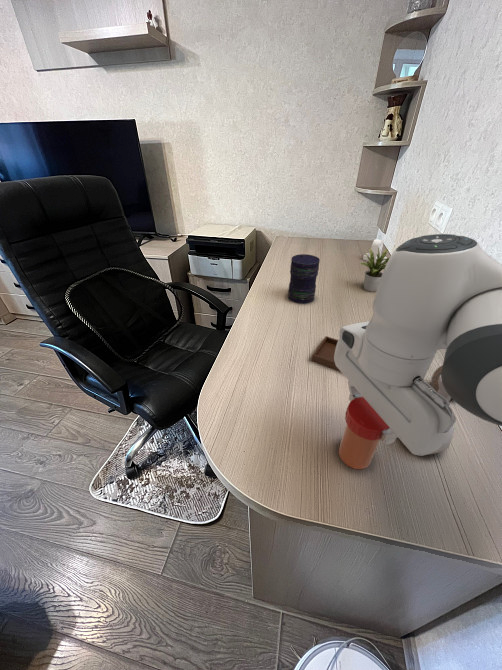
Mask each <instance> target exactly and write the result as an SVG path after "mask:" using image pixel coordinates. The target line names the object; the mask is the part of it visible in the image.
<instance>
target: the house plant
mask: <svg viewBox="0 0 502 670" xmlns="http://www.w3.org/2000/svg"><path fill="white" fill-rule="evenodd" d="M368 250H369V253H370V257H371V258H369V256H368V255H367V254H366V253H367V252H364V255H366V256H367V258H368V259H369V261H366V262H361V263H359V265H363V266H366V267H368V269H369V270H366V271H365V272H364V278H363V279H364V280H363V289H364V290H365V291H368V292H376V291H377V288H378V285H379V282H380V279H381V277H382V274H383V272H382V271H384V269H385V267H386V264H387V262H388V260H389V258H390V257H391V256H389V257H387V258H386V259H384V257H386V256H387V253H388V251H389V249H388V247H386V248H385V250H384V251H383V252H382V253H381V255H380V252H379V247H378V254H377V259H376V263H375V262H374V253H373V252H372V250H371V248H370V247H368ZM383 260H385V261H384V262H383V263H381V262H382V261H383Z"/></svg>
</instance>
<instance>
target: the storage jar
mask: <svg viewBox="0 0 502 670" xmlns="http://www.w3.org/2000/svg"><path fill="white" fill-rule="evenodd" d="M290 259H291V262H290V266H289V267H290V270H289V273H290V278H289V283H288V295H287V298H288V300H289V301H290V302H292V303H293V304H294V303H295V304H298V305H306V304H311V303H312V302H314V300H315V295H316V291H317V290H316V289H317V277H318V275H319V270H320V261H321V260H320V258H319V257H318V256H316V255H312V254H306V253H305V254H304V253H301V254H295V255H292V257H291V258H290Z"/></svg>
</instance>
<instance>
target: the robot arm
mask: <svg viewBox="0 0 502 670" xmlns="http://www.w3.org/2000/svg"><path fill="white" fill-rule="evenodd" d="M389 257H390V258H389ZM389 257H388V258H389V260H388V262H387V264H385V265H386V267H385V269H383V270H382V273H383V274H382V277H381V279H380V282H379V285H378V288H377V291H375V295H374V299H373V303H372V316H371V319H370V320H368V321H361V322H355V323H351V324H348V325H344V326H341V327H340V328H339V332H338V336H339V339H337V340H338V342H337V345H336V349H335V354H334V361H335V365H336V366H337V368H338V369H339V370H340V371H341V373H342V375H343V376H344V378H346V379H347V386H348V391H349V396H348V401H349V402H351V401H352V400H353V399H355V398H359V397H364V399H365V400H366V401H367V402H368V403H369V404H370V406H371V407H372V408H373V409H374V410H375V411H376V412H377V414H378V415H379V416H380V417H381V418H382V419H383V421H384V422H385V423H386V424H387V425H388V426H389V427H390V428H389V429H387V430H384V431H381V435H380V436H379V437H380V438H381V440H380V441H382V442H383V444H384V445H385V446H388V445H391V444H393V443H394V442H395V441H396V439H397V438H398V439H399V441H401V443H402V444H403V445H404V446H405V447H406V449H408V451H409V452H410V453H411V454H412V455H414V456H420V457H421V456H422V457H423V456H427V454H428V455H431V454H430V453H432V452H435V451H437V450H438V449H439V448H440V447H441V446H442V444H443V442H444V440H445V437H446V435H447V432H448V431H449V430H450V429H451V427H452V426H453V427H454V424H455V422H456V419H457V417H456V415H455V412H454V411H453V410H452V408H451V407H450V404H451V403H450V401H449V402H448V400H447V399H446V398H445V397H443V396H442V395H440V394H439V393H437V392H436V391H435V390H434V389H433V388H432V385H430V384H429V383H428V382H427V381H426V380H424V379H425V377H426V375H427V373H428V371H429V369H430V367H431V364H432V363H433V361H434V359H435V357H436V354H437V353H438V351H440V350H446V351H445V354H444V359H443V363H442V365H443V367H442V372H441V379H442V383H443V386H444V388H445V390H446V392H447V393H448V394H449V396H450V397H451V400H452V401H454V403H456V404H457V405H459V406H460V407H461V408H463V410H465V411H466V412H469V413H470V414H472V415H473V416H475V417H477V418H479V419H481V420H483V421H485V422H488V423H491V424H493V425H497V426H500V427H502V263H501V262H499V261H498V260H496V259H495V258H494V257H492V256H491V255H489V254H488V253H487V252H486V251H485V250H484V249H483V248H482V246H480V244H479V243H478V241H477V240H475V239H474V238H471V237H469V236H465V235H457V234H451V233H449V234H447V233H438V234H437V233H436V234H435V233H433V234H425V235H421V236H418V237H417V236H416V237H413V238H411V239H408V240H406V241H405V242H403V243H402V244H400V245H399V246H397V247H396V248H395V250H393V252H392V253H391V255H390V256H389ZM340 371H339V372H340Z"/></svg>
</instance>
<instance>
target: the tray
mask: <svg viewBox="0 0 502 670" xmlns="http://www.w3.org/2000/svg"><path fill="white" fill-rule="evenodd" d="M338 340H339V339H336V338H334V337H330V336H327V335H326V336H324V338H323V339H322V341H321V342H320V343H319V344H318V346H317V348H316V349H315V350H314V352H313V354H312V355H311V362H314V363H316V364H319V365H322V366H324V367H327V368H330V369H333V370H335V371H338V372H341V371H340V370H339V369H338V368H337V366H336V365H335V361H334V354H335V349H336V345H337V342H338ZM341 373H342V372H341Z"/></svg>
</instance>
